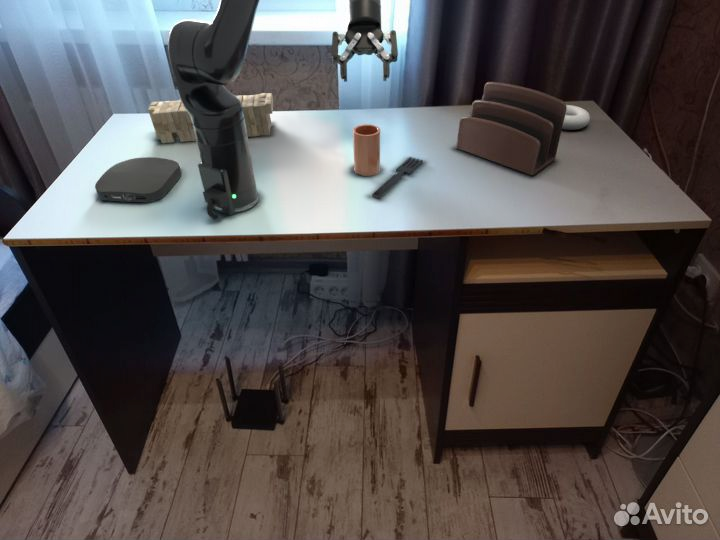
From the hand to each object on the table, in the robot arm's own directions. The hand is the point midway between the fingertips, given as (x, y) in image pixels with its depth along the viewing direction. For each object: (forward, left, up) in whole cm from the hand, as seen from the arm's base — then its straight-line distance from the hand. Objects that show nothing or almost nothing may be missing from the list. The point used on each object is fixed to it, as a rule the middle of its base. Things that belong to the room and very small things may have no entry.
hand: (365, 79), depth 109 cm
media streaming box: (-39, +33, -16) cm, 53 cm away
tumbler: (-9, -6, -16) cm, 19 cm away
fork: (-10, -13, -16) cm, 23 cm away
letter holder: (+12, -29, -16) cm, 35 cm away
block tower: (-12, +37, -16) cm, 42 cm away
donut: (+35, -37, -16) cm, 54 cm away
